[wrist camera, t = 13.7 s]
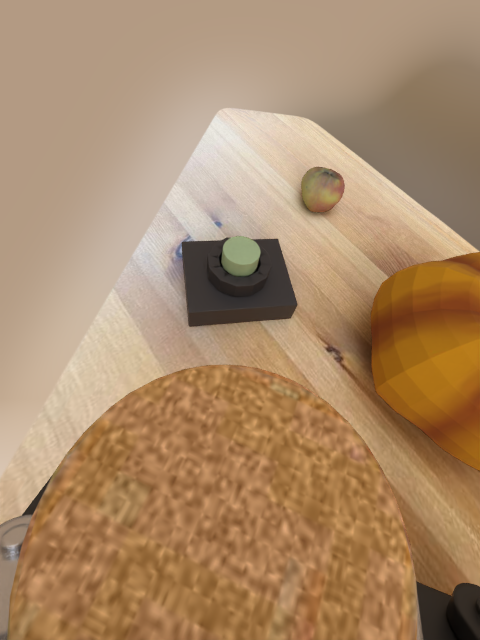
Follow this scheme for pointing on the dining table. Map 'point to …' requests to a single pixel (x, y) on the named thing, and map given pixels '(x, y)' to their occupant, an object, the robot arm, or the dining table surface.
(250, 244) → the green button cap
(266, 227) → the dining table surface
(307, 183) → the apple
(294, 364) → the dining table surface
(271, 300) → the button housing
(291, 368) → the dining table surface
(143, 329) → the dining table surface
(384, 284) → the decorative pumpkin
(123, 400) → the bottle
